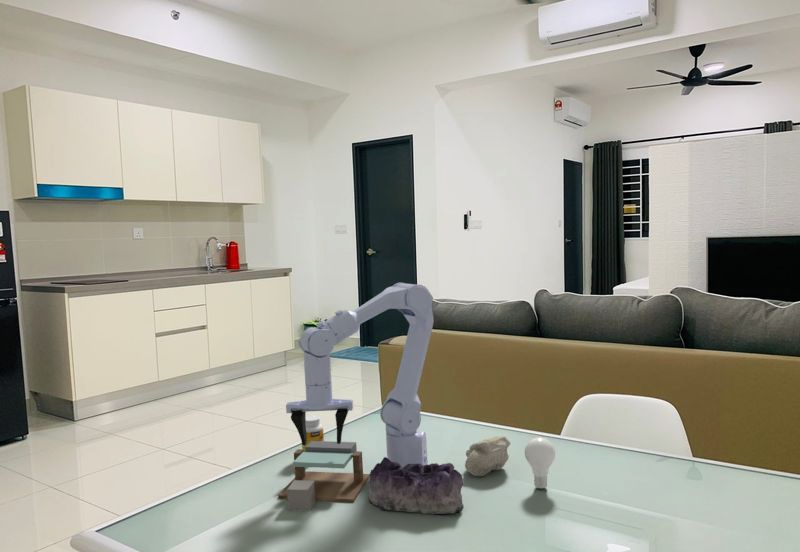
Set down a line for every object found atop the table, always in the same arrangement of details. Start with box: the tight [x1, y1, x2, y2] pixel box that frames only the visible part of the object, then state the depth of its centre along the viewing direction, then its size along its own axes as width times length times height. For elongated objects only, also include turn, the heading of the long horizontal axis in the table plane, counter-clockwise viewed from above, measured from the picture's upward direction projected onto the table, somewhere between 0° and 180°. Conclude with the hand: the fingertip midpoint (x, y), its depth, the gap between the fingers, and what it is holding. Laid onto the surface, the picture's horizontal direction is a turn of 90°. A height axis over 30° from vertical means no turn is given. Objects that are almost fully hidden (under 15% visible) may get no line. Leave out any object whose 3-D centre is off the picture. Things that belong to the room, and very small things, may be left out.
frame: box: [277, 448, 370, 503], centre depth 131 cm, size 17×13×7 cm
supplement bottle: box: [301, 415, 325, 452], centre depth 149 cm, size 6×6×10 cm
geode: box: [368, 456, 464, 515], centre depth 121 cm, size 20×12×10 cm, turn 81°
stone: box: [286, 480, 317, 512], centre depth 123 cm, size 4×4×4 cm
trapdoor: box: [292, 440, 358, 470], centre depth 133 cm, size 12×11×2 cm
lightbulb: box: [524, 436, 556, 490], centre depth 126 cm, size 6×6×11 cm
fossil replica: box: [464, 435, 511, 478], centre depth 136 cm, size 12×8×10 cm
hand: (321, 442), depth 130 cm, fingers open, 7 cm apart
